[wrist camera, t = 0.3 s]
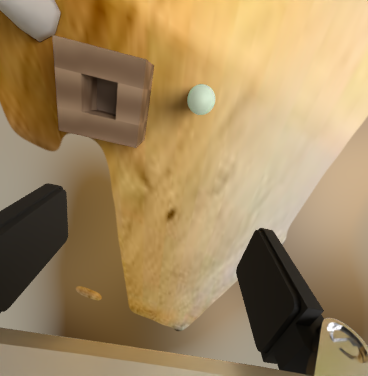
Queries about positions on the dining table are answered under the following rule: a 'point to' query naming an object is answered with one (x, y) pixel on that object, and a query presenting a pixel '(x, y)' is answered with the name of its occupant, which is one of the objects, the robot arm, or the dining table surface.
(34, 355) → the robot arm
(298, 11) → the dining table surface
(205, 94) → the peg
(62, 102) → the socket block
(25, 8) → the flask
